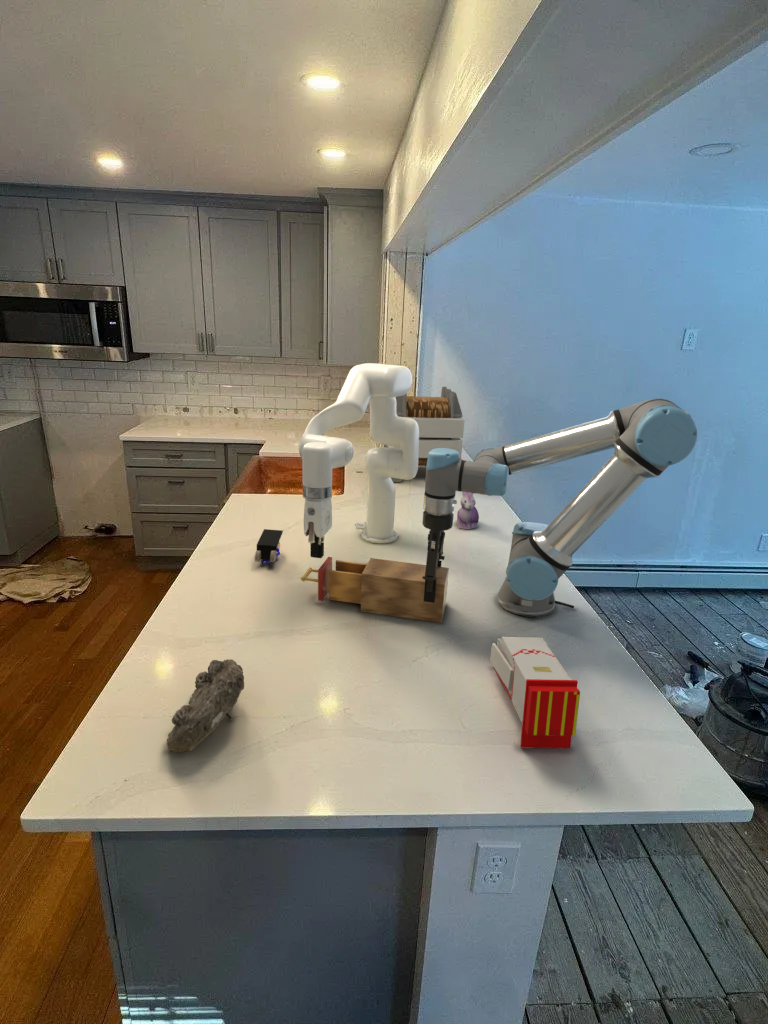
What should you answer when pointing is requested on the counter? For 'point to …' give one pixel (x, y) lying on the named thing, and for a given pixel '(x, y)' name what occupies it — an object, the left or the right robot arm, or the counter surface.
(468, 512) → the figurine
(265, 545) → the figurine character
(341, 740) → the counter surface
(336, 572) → the drawer
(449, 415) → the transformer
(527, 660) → the toy
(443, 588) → the cabinet
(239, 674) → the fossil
